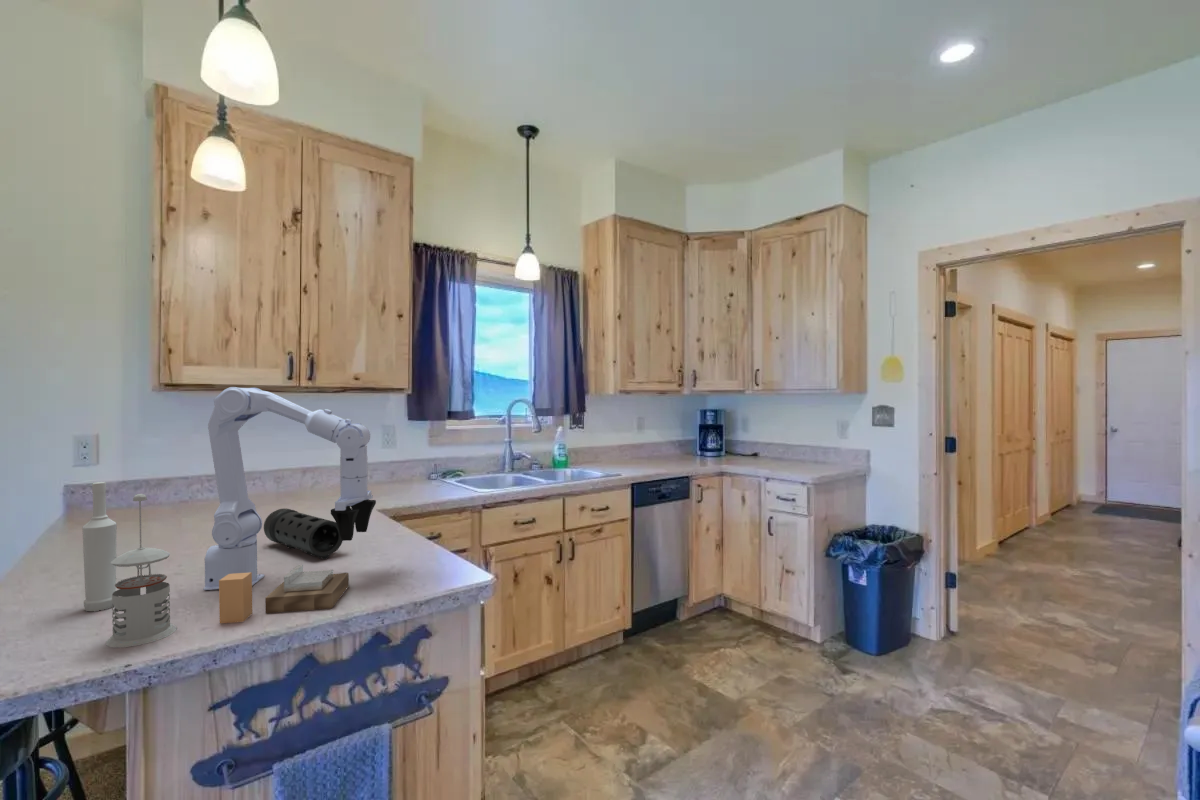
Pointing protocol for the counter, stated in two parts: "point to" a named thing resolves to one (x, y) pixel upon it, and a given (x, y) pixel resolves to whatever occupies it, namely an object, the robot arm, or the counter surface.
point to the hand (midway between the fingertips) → (354, 535)
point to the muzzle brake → (303, 532)
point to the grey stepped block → (306, 579)
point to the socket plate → (307, 596)
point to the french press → (140, 598)
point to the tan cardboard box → (235, 597)
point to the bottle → (99, 554)
